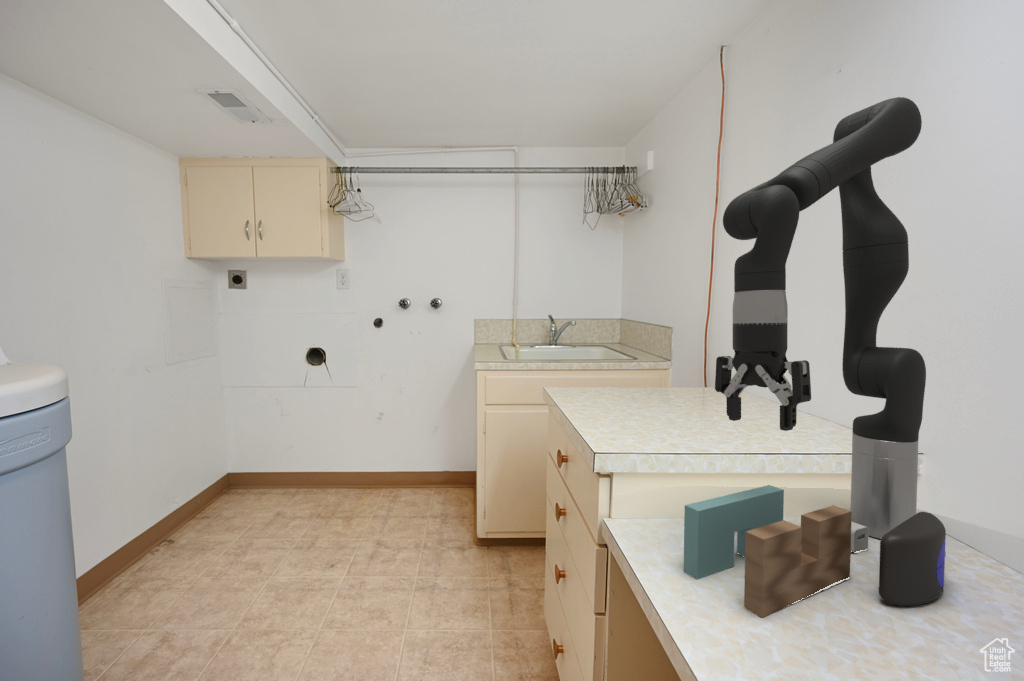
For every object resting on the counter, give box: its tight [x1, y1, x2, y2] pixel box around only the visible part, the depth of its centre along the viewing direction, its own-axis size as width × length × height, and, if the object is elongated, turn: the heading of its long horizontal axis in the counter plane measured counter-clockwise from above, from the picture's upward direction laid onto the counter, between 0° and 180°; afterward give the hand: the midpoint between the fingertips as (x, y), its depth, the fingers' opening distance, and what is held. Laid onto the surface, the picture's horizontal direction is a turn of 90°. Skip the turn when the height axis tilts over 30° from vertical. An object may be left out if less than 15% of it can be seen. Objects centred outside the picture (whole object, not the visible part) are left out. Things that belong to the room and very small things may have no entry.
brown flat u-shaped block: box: [743, 505, 852, 619], centre depth 63 cm, size 20×2×10 cm, turn 117°
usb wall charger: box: [851, 522, 869, 553], centre depth 78 cm, size 4×7×4 cm, turn 24°
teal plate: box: [683, 484, 785, 580], centre depth 72 cm, size 2×20×10 cm, turn 117°
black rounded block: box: [878, 511, 947, 607], centre depth 64 cm, size 16×5×9 cm, turn 124°
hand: (759, 424), depth 72 cm, fingers open, 8 cm apart
